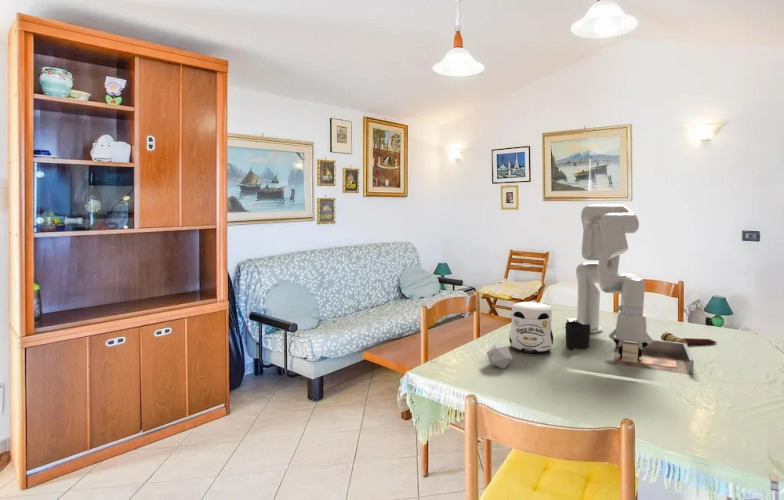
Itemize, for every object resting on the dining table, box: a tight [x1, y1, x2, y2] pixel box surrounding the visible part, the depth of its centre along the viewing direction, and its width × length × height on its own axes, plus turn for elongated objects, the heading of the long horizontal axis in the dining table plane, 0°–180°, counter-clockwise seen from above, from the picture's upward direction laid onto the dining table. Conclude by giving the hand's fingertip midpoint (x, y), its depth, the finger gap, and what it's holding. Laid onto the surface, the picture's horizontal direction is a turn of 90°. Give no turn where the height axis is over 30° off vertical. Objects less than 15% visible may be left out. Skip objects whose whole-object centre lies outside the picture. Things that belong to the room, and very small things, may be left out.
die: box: [486, 343, 513, 369], centre depth 166 cm, size 8×9×10 cm
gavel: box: [660, 331, 717, 346], centre depth 186 cm, size 21×5×10 cm
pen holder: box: [565, 321, 591, 351], centre depth 184 cm, size 9×9×10 cm
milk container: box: [508, 301, 554, 354], centre depth 183 cm, size 17×17×18 cm
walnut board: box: [614, 348, 693, 376], centre depth 167 cm, size 24×20×1 cm
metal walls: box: [614, 338, 695, 376], centre depth 167 cm, size 24×20×5 cm
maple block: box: [622, 341, 638, 363], centre depth 169 cm, size 9×5×6 cm, turn 153°
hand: (629, 356), depth 169 cm, fingers closed on maple block, 5 cm apart
